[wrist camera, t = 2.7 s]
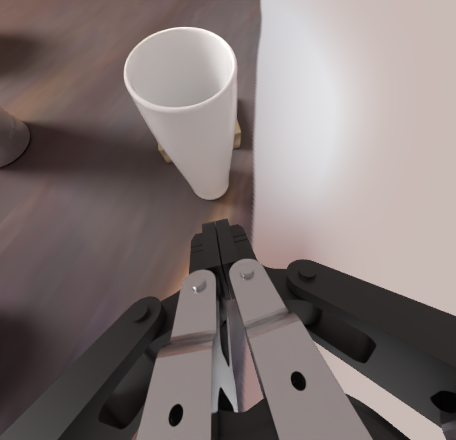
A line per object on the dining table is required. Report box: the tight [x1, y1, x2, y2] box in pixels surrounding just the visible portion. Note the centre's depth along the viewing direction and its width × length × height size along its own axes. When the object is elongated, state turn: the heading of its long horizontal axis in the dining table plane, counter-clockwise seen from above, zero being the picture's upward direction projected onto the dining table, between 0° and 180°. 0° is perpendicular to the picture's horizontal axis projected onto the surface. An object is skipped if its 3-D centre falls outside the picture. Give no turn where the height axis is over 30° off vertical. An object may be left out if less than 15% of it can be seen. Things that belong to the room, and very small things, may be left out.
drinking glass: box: [124, 27, 237, 200], centre depth 17 cm, size 7×7×15 cm
